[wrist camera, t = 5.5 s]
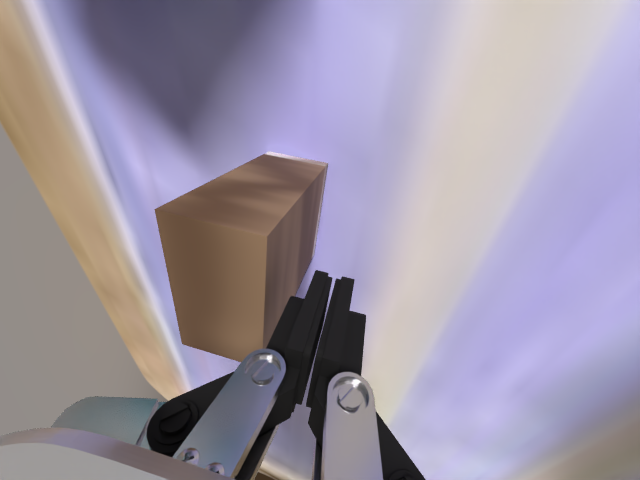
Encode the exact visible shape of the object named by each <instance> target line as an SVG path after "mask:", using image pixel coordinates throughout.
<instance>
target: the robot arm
mask: <svg viewBox="0 0 640 480" xmlns="http://www.w3.org/2000/svg"><path fill="white" fill-rule="evenodd" d="M331 282H332V277H328V273H326V272H322V271H318V270H316V271H315V273H314V276H313V279H312V281H311V284H310V286H309V289H308V291H307V294H306V296H305V299H302V298H298V297H294V296H291V297H290V298H289V300H288V302H287V304H286V306H285V309H284V311H283V313H282V315H281V317H280V319H279V321H278V324H277V326H276V328H275V330H274V332H273V334H272V336H271V339H270V341H269V343H268V345H267V347H266V349H259V350H255V351H253V352H251V353H250V354H248V355H247V356H246V357H245V358H244V360H243V361H242V362H241V364H240V365H239V366H238V368H237V369H236V371H234V372H232V373H230V374H228V375H225V376H223V377H221V378H218V379H216V380H214V381H212V382H209V383H207V384H205V385H203V386H200V387H198V388H196V389H193V390H191V391H189V392H187V393H184V394H182V395H180V396H178V397H175V398H173V399H171V400H169V401H168V402H158V399H148V398H123V397H98V396H97V397H96V396H95V397H88V398H85V399H82V400H80V401H78V402H76V403H74V404H73V405H71V406H70V407H68V408H67V409H66V410H65V411H64V412H63V413H62V414H61V415H60V416H59V417H58V418H57V420H56V421H55V422H54V424H53V425H52V426H51V428H37V429H30V430H24V431H18V432H13V433H9V434H5V435H2V436H0V480H254V478H255V476H256V474H257V472H258V470H259V468H260V466H261V463H262V461H263V459H264V457H265V455H266V453H267V451H268V449H269V446H270V444H271V442H272V440H273V438H274V436H275V434H276V432H277V429H278V427H279V424H280V423H282V422H284V421H285V420H287V419H289V418H290V416H291V413H292V412H294V409H295V405H296V403H297V404H300V405H301V404H302V401H303V397H304V393H305V390H306V386H307V382H308V379H309V375H310V371H311V367H312V364H313V360H314V356H315V353H316V349H317V345H318V341H319V338H320V334H321V330H322V326H323V322H324V317H325V312H326V307H327V302H328V297H329V292H330V287H331ZM353 285H354V279H351V278H347V277H342V278H341V280H340V279H336V281H335V285H334V289H333V293H332V296H331V300H330V304H329V308H328V312H327V315H326V319H325V323H324V327H323V331H322V334H321V338H320V342H319V346H318V350H317V354H316V358H315V363H314V368H313V373H312V378H311V383H310V388H309V393H308V398H307V403H306V406H307V407H310V408H311V412H310V417H309V421H308V424H309V426H310V428H311V430H312V432H313V434H314V436H315V441H314V455H313V469H312V480H425V478H424V477H423V475H422V474H421V473H420V471H419V470H418V469H417V467H416V466H415V464H414V463H413V462H412V460H411V459H410V457H409V456H408V455H407V453H406V452H405V451H404V449H403V448H402V446H401V445H400V444H399V442H398V441H397V440H396V438H395V437H394V435H393V434H392V433H391V431H390V430H389V429H388V427H387V426H386V424H385V423H384V422H383V420H382V419H381V417H380V416H379V415H378V413H377V412H376V409H375V400H374V395H373V391H372V389H371V387H370V385H369V383H368V382H367V381H366V380H365V379H364V378H363V377H361V369H362V357H363V346H364V334H365V323H366V315H364V314H360V313H357V312H353V311H349V309H350V303H351V297H352V291H353Z"/></svg>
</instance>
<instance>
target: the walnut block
mask: <svg viewBox="0 0 640 480" xmlns="http://www.w3.org/2000/svg"><path fill="white" fill-rule="evenodd" d="M327 167H328V163H324V162H319V161H314V160H309V159H304V158H299V157H294V156H289V155H284V154H279V153H274V152H267V153H265V154H263V155H261V156H259V157H257V158H255V159H253V160H251V161H249V162H247V163H245V164H243V165H241V166H239V167H238V168H236V169H234V170H232V171H230V172H228V173H226V174H224V175H222V176H220V177H218V178H216V179H214V180H212V181H210V182H208V183H206V184H204V185H202V186H200V187H198V188H196V189H194V190H192V191H190V192H188V193H186V194H184V195H182V196H180V197H178V198H176V199H174V200H172V201H170V202H168V203H166V204H164V205H162V206H160V207H158V208H157V209H155V213H156V218H157V223H158V228H159V233H160V238H161V243H162V248H163V252H164V257H165V262H166V267H167V272H168V277H169V282H170V287H171V292H172V296H173V301H174V306H175V311H176V316H177V321H178V326H179V331H180V336H181V341H182V344H184V345H187V346H190V347H193V348H197V349H200V350H203V351H206V352H210V353H213V354H216V355H220V356H223V357H226V358H229V359H233V360H236V361H239V362H242V361H243V360H244V358H245V357H246V356H247V355H248V354H250V353H251V352H253V351H255V350H259V349H266V347H267V345H268V343H269V341H270V339H271V336H272V334H273V332H274V330H275V328H276V326H277V324H278V321H279V319H280V317H281V315H282V313H283V311H284V309H285V306H286V304H287V302H288V300H289V298H290V297H291V296H294V297H295V295H296V293H297V290H298V288H299V286H300V284H301V282H302V279H303V277H304V275H305V273H306V271H307V268H308V266H309V264H310V262H311V260H312V257H313V255H314V252H315V246H316V239H317V233H318V226H319V220H320V213H321V207H322V200H323V193H324V187H325V180H326V174H327Z"/></svg>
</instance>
